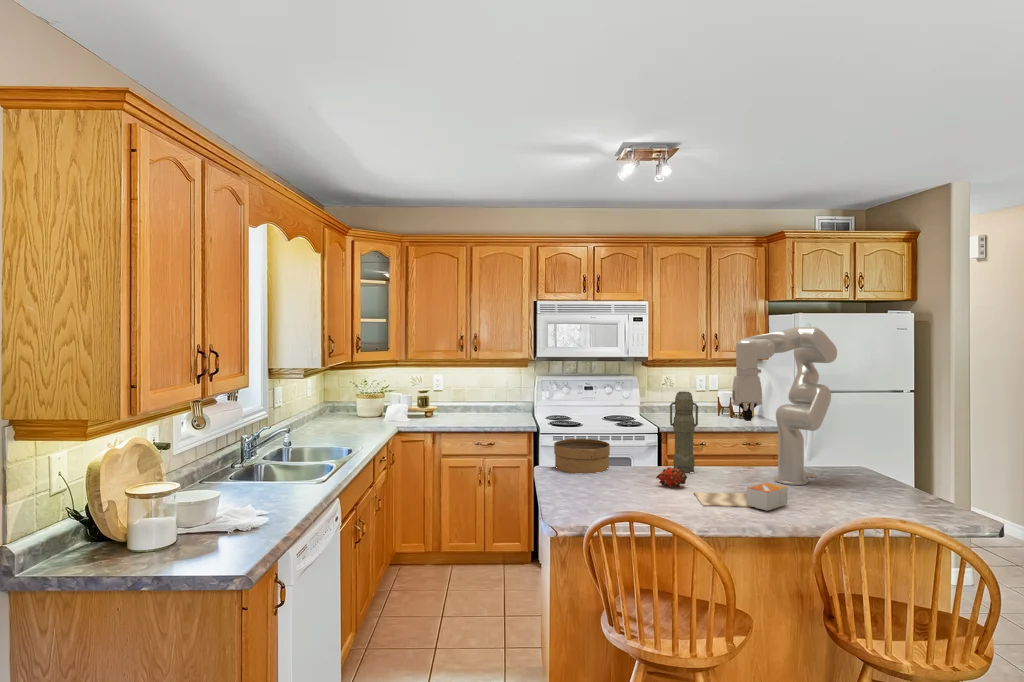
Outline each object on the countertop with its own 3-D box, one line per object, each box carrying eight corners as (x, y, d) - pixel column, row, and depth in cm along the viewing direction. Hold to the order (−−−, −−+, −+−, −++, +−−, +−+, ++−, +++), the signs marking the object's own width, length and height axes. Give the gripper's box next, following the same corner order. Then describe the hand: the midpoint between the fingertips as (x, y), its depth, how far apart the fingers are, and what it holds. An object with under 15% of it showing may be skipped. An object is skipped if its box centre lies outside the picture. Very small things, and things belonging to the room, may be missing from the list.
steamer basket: (605, 475, 257) (605, 449, 257) (548, 472, 265) (548, 447, 265) (613, 463, 281) (613, 439, 281) (561, 461, 288) (560, 437, 288)
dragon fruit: (689, 492, 237) (658, 494, 240) (687, 475, 243) (656, 478, 246) (687, 478, 232) (655, 480, 235) (684, 461, 239) (654, 464, 242)
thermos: (699, 473, 260) (699, 393, 259) (671, 473, 261) (671, 393, 261) (695, 469, 269) (696, 391, 268) (668, 468, 270) (669, 390, 269)
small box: (788, 486, 212) (767, 492, 205) (787, 504, 213) (767, 511, 205) (766, 481, 219) (746, 487, 211) (766, 498, 219) (745, 505, 211)
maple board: (758, 495, 226) (758, 493, 226) (773, 507, 210) (773, 506, 210) (693, 494, 228) (693, 492, 228) (703, 506, 213) (703, 504, 213)
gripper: (763, 371, 233) (764, 418, 233) (724, 372, 233) (724, 419, 234) (770, 373, 225) (771, 421, 226) (730, 374, 226) (731, 422, 227)
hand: (747, 420), depth 230 cm, fingers closed
